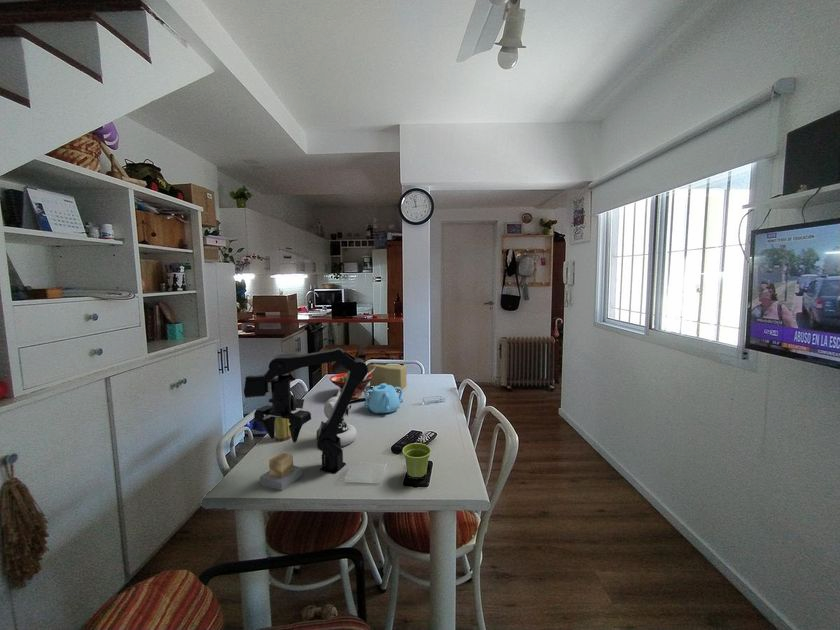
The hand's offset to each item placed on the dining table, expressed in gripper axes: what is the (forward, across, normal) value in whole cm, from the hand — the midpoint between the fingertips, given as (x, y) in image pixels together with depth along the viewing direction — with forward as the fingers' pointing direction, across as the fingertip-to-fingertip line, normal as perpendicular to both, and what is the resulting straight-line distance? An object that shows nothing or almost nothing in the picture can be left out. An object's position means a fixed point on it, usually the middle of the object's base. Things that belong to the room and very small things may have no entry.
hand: (283, 440), depth 108 cm
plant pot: (+12, -42, -14) cm, 46 cm away
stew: (+12, +18, -73) cm, 76 cm away
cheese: (+12, +7, -91) cm, 92 cm away
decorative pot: (+12, -6, -61) cm, 63 cm away
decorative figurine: (+12, -3, -26) cm, 29 cm away
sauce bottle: (+12, +19, -20) cm, 30 cm away
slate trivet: (+12, -1, +3) cm, 12 cm away
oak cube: (+9, -1, +3) cm, 10 cm away
